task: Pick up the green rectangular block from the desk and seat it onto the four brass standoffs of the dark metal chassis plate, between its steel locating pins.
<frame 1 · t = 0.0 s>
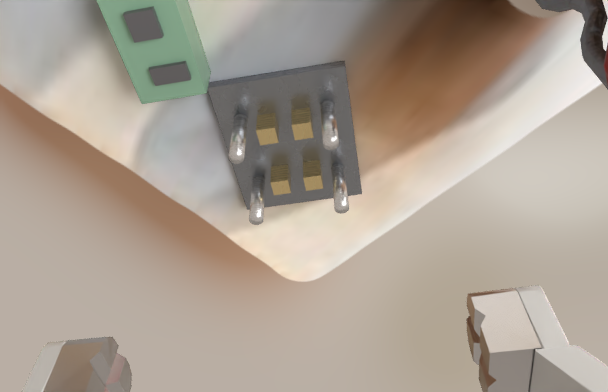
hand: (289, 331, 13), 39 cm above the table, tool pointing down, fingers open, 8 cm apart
green rectangular block: (162, 26, 49), on the table
chassis: (291, 139, 57), on the table
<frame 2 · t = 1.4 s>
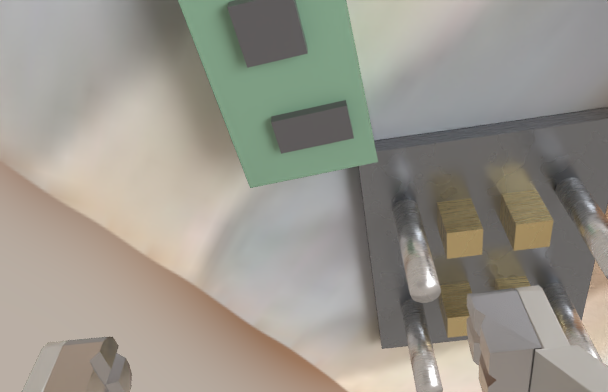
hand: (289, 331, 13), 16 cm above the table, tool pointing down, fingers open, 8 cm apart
green rectangular block: (286, 38, 25), on the table
chassis: (478, 240, 33), on the table
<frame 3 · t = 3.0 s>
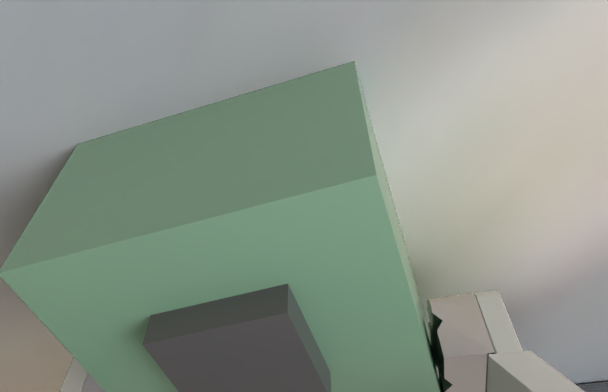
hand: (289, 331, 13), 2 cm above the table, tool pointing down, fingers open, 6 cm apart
green rectangular block: (289, 269, 14), on the table
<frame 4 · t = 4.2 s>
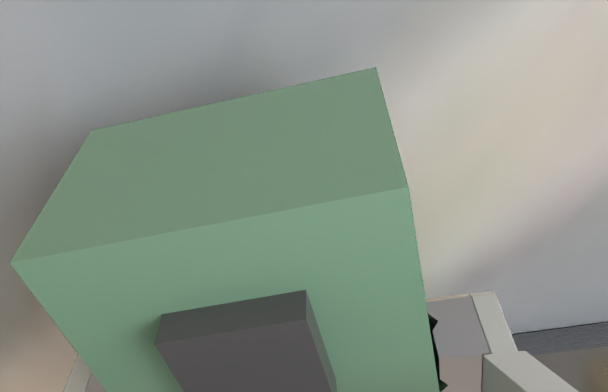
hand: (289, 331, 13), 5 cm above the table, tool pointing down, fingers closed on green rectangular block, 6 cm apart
green rectangular block: (289, 273, 14), point 3 cm above the table, touching gripper
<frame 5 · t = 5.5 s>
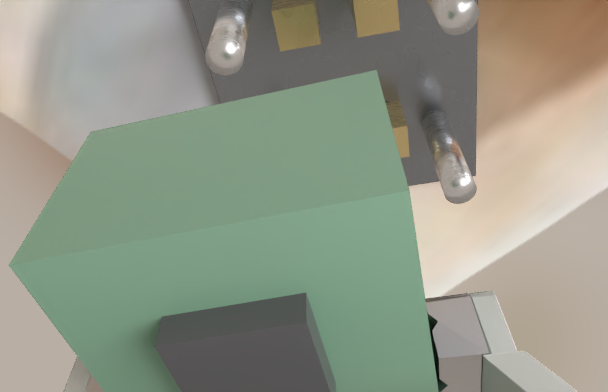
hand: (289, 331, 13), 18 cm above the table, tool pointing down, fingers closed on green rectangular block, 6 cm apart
green rectangular block: (288, 275, 14), point 17 cm above the table, touching gripper
chassis: (341, 58, 28), on the table
when the fingers open (5 cm above the table, at t = 7.7 s): green rectangular block stays where it is, resting on chassis.
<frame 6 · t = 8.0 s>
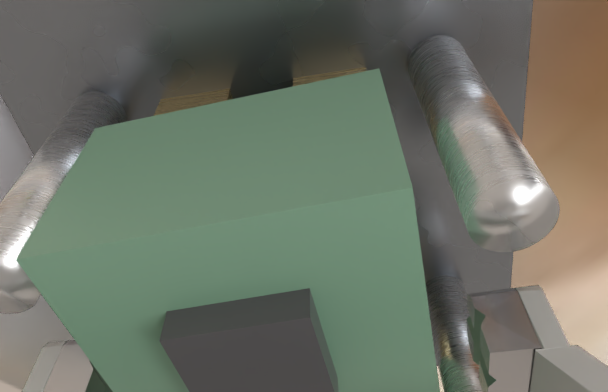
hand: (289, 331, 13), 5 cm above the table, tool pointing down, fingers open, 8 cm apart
green rectangular block: (290, 272, 14), point 3 cm above the table, touching chassis
chassis: (292, 193, 17), on the table
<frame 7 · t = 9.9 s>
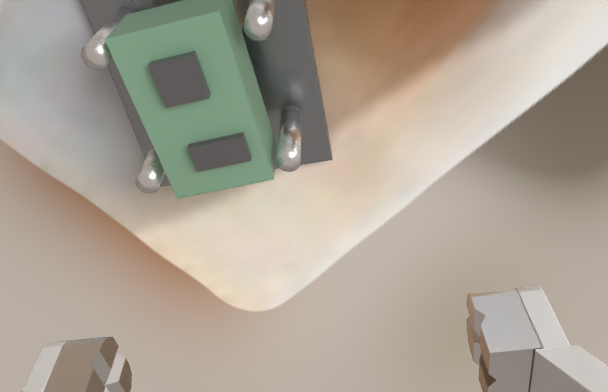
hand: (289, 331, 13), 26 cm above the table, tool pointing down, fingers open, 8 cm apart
green rectangular block: (206, 84, 33), point 3 cm above the table, touching chassis
chassis: (214, 63, 36), on the table
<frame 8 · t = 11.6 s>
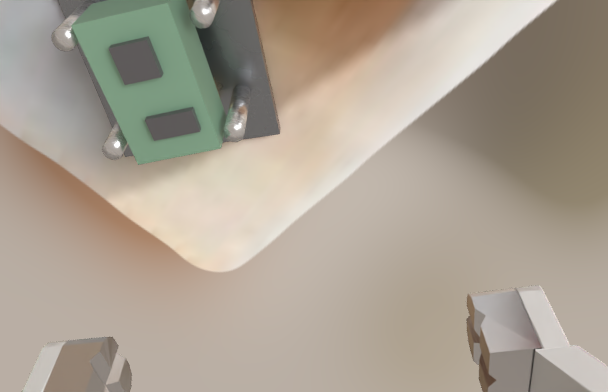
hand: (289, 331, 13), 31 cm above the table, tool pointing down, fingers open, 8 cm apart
green rectangular block: (164, 65, 38), point 3 cm above the table, touching chassis
chassis: (173, 47, 41), on the table
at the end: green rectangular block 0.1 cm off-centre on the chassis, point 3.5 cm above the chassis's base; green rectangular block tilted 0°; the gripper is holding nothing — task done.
